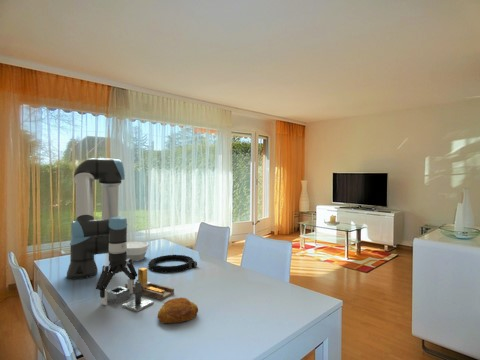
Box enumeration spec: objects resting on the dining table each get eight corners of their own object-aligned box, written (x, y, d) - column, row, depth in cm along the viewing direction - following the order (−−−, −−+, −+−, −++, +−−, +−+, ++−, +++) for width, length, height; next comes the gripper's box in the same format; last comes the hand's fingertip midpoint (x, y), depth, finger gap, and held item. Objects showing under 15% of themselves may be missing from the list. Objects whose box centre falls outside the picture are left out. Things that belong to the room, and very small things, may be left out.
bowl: (143, 263, 185) (143, 248, 185) (115, 262, 185) (115, 247, 185) (151, 255, 203) (151, 241, 203) (126, 254, 203) (126, 241, 203)
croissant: (198, 328, 112) (201, 307, 112) (156, 327, 108) (159, 306, 108) (193, 310, 126) (196, 291, 126) (156, 309, 122) (159, 290, 122)
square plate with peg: (122, 306, 124) (122, 283, 124) (138, 299, 132) (139, 277, 132) (137, 312, 120) (137, 287, 120) (153, 303, 128) (153, 280, 127)
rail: (125, 289, 143) (125, 284, 143) (138, 284, 150) (138, 279, 150) (161, 300, 131) (161, 294, 131) (173, 293, 138) (174, 288, 138)
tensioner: (134, 287, 142) (134, 269, 142) (142, 284, 146) (142, 266, 146) (158, 294, 134) (158, 275, 134) (166, 290, 139) (166, 271, 138)
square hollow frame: (105, 299, 131) (105, 291, 131) (119, 294, 137) (119, 285, 137) (116, 303, 127) (116, 294, 127) (129, 297, 134) (129, 288, 133)
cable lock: (161, 252, 197) (203, 255, 191) (161, 258, 197) (203, 261, 191) (139, 265, 170) (187, 269, 164) (139, 271, 170) (187, 275, 164)
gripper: (97, 259, 119) (97, 311, 119) (145, 246, 141) (145, 290, 141) (86, 257, 123) (86, 307, 123) (134, 244, 144) (134, 287, 145)
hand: (117, 298), depth 132 cm, fingers open, 13 cm apart
